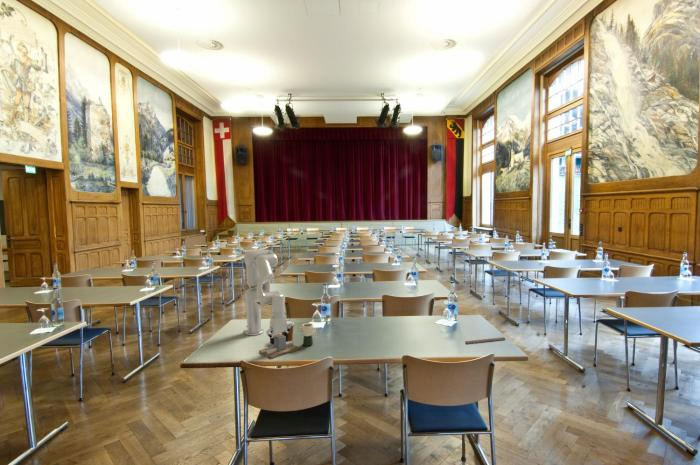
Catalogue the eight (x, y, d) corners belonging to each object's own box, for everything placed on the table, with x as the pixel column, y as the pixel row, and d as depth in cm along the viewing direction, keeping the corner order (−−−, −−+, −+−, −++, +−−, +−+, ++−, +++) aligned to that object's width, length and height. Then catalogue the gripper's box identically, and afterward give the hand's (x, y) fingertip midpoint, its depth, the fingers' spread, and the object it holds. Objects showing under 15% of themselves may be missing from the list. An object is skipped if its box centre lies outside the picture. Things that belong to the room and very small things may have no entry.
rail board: (259, 352, 221) (259, 347, 221) (286, 343, 235) (286, 338, 235) (271, 358, 211) (271, 353, 211) (299, 349, 225) (299, 344, 225)
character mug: (317, 343, 235) (317, 323, 234) (315, 347, 228) (314, 326, 227) (301, 342, 236) (300, 322, 235) (298, 346, 229) (297, 326, 228)
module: (272, 348, 224) (272, 335, 223) (279, 345, 227) (279, 333, 227) (279, 351, 219) (278, 338, 218) (286, 348, 222) (285, 336, 222)
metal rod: (465, 343, 230) (465, 340, 230) (503, 339, 236) (503, 336, 236) (466, 344, 228) (466, 341, 228) (505, 340, 234) (505, 337, 234)
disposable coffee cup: (297, 338, 244) (296, 320, 243) (289, 343, 235) (289, 325, 234) (285, 336, 248) (284, 319, 247) (277, 341, 239) (276, 323, 238)
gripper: (286, 310, 230) (287, 336, 232) (262, 316, 218) (263, 343, 220) (293, 312, 225) (294, 339, 226) (269, 318, 213) (270, 347, 214)
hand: (279, 341), depth 223 cm, fingers open, 9 cm apart
